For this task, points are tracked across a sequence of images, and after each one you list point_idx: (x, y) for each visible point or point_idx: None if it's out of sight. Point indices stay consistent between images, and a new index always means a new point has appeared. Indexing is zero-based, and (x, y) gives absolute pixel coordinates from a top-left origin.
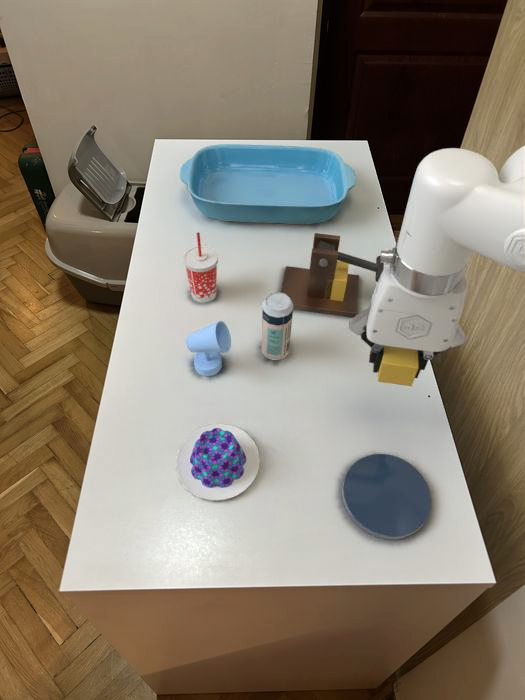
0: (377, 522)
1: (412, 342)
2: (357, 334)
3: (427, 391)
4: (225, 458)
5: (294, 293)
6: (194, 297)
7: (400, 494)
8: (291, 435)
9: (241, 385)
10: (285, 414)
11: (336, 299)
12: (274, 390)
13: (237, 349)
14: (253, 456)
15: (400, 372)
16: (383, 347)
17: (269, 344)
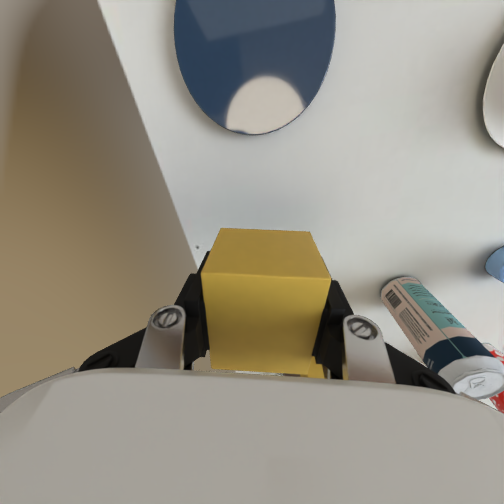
0: None
1: (237, 463)
2: (471, 398)
3: (199, 253)
4: None
5: None
6: (497, 350)
7: (228, 45)
8: (403, 154)
9: (464, 233)
10: (405, 192)
11: (312, 357)
12: (413, 231)
13: (453, 287)
14: (493, 91)
15: (258, 255)
16: (318, 333)
17: (434, 298)
